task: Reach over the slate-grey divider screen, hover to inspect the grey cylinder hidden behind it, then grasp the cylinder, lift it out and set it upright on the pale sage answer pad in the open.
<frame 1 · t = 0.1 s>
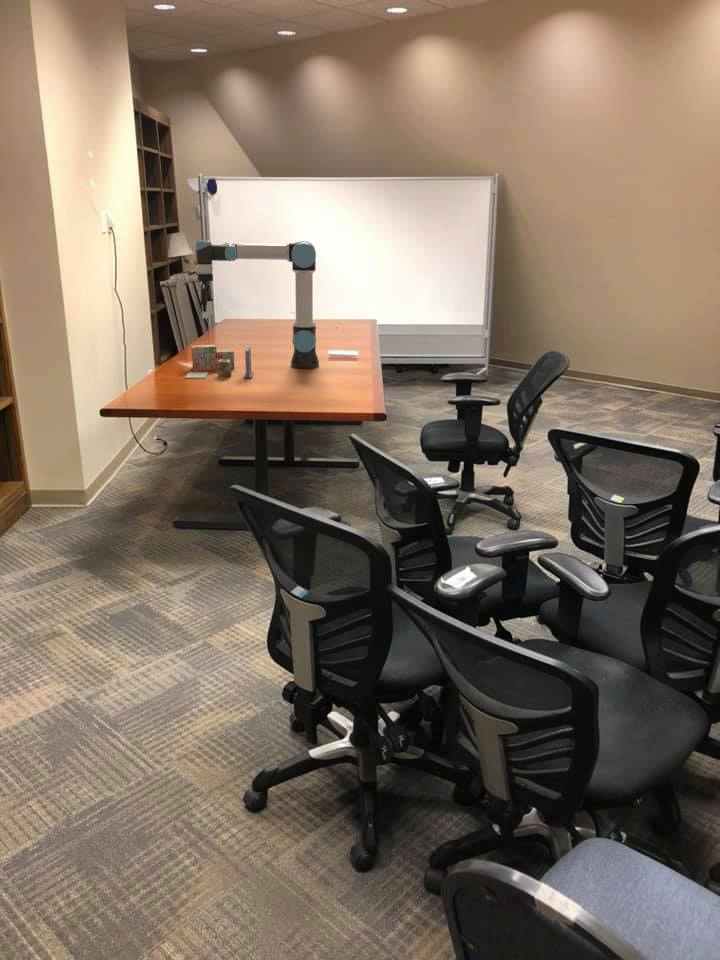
hand: (207, 316, 387), 28 cm above the table, fingers open, 13 cm apart
stack of blocks: (213, 369, 402), on the table
pad: (196, 375, 384), on the table
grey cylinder: (224, 376, 385), on the table
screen: (248, 376, 386), on the table
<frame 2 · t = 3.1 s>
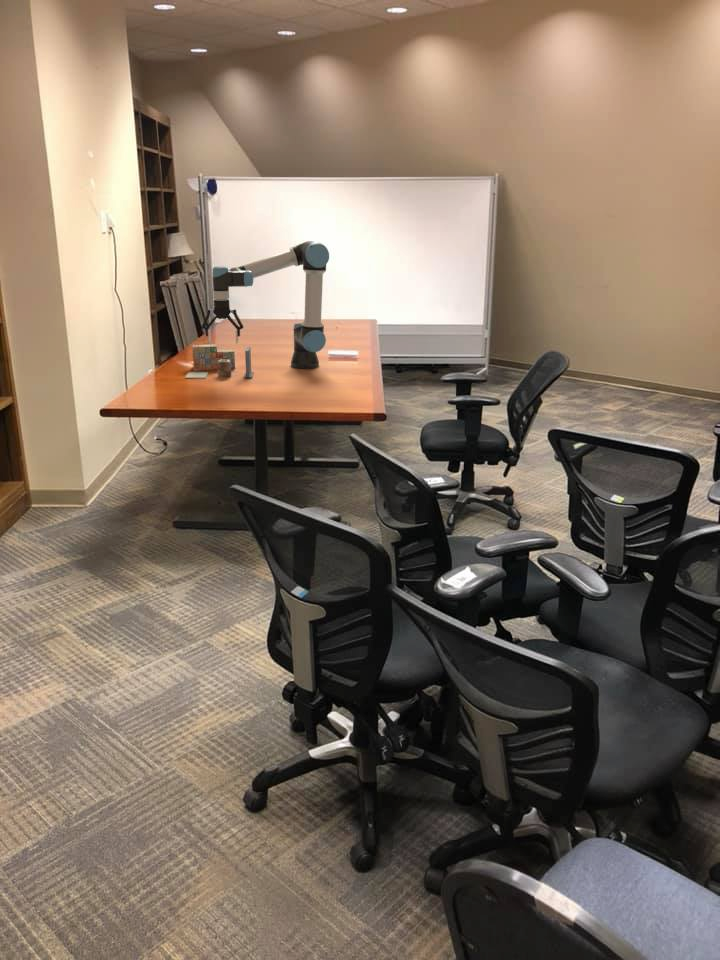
hand: (223, 343, 379), 17 cm above the table, fingers open, 13 cm apart
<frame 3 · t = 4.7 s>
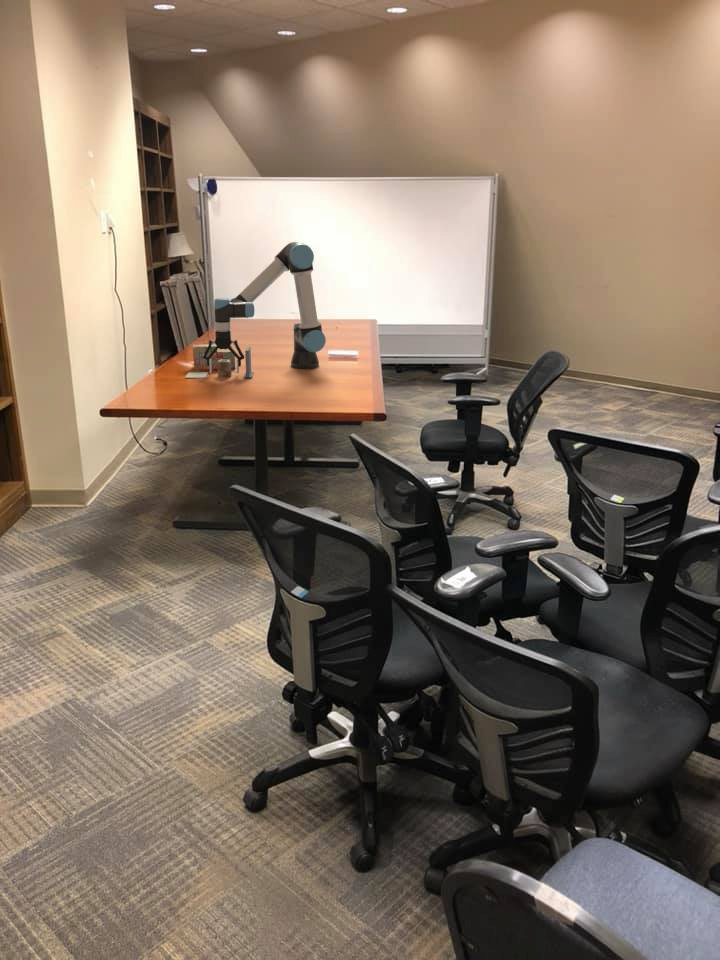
hand: (224, 372, 384), 2 cm above the table, fingers open, 13 cm apart
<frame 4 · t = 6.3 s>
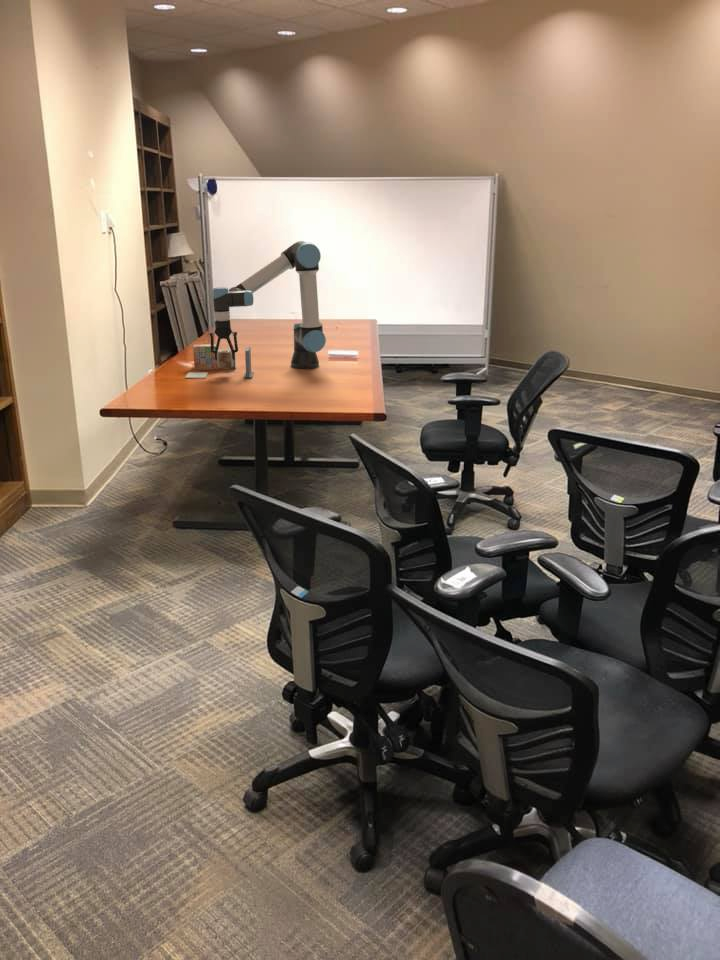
hand: (225, 366, 384), 5 cm above the table, fingers closed on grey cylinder, 6 cm apart
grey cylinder: (225, 366, 384), point 5 cm above the table, touching gripper
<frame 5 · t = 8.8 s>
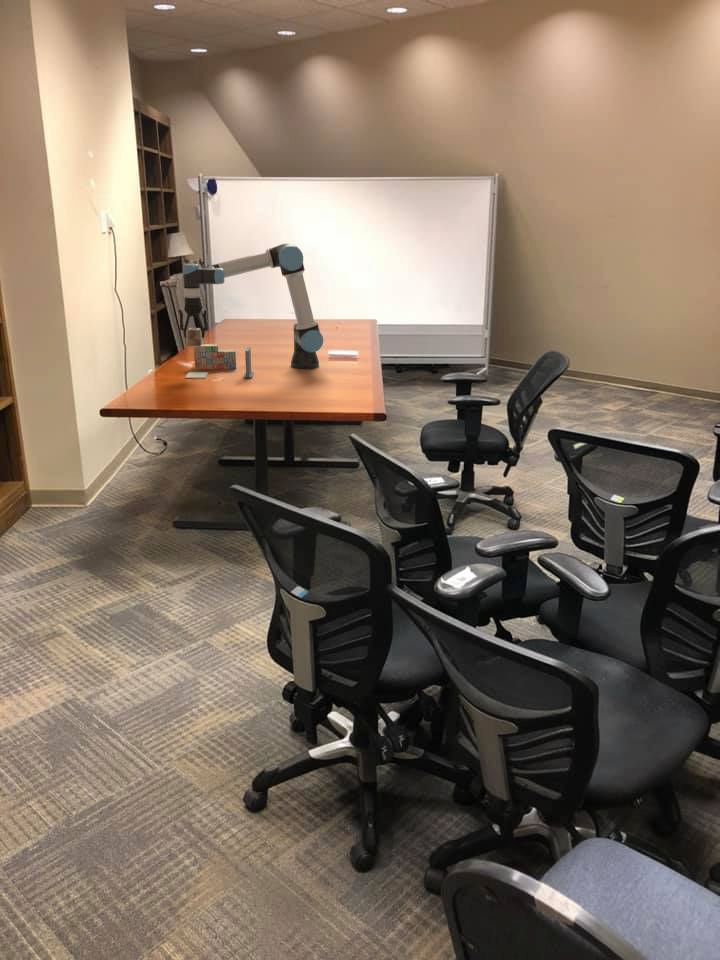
hand: (194, 344, 379), 16 cm above the table, fingers closed on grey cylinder, 6 cm apart
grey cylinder: (194, 345, 379), point 16 cm above the table, touching gripper
when the fingers open (1 cm above the table, at t = 11.6 s): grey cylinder stays where it is, resting on pad.
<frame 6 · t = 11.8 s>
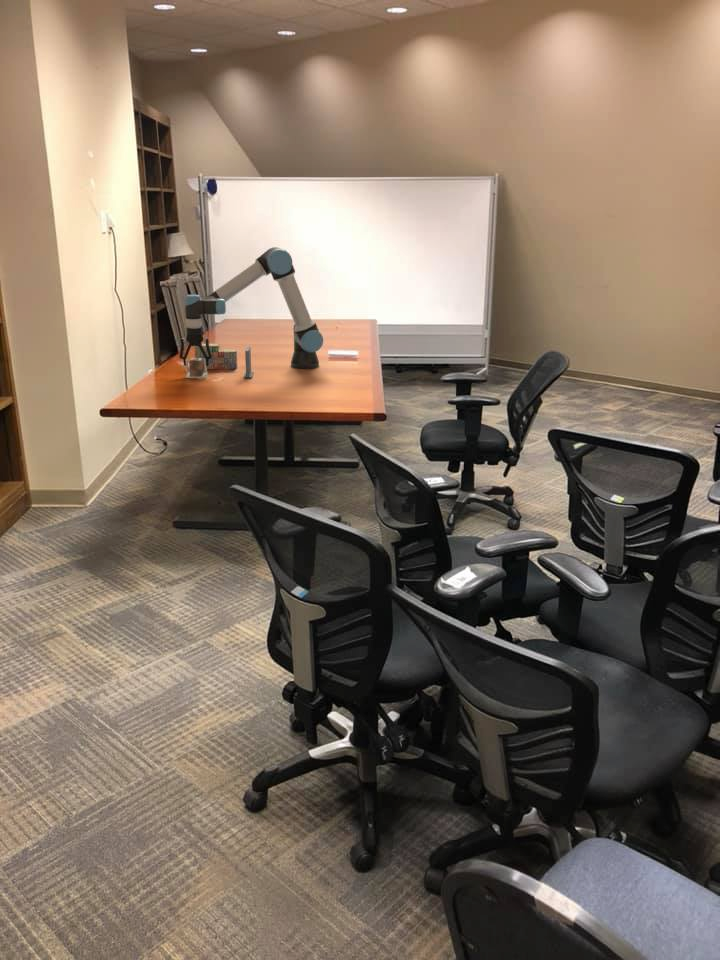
hand: (196, 372, 384), 2 cm above the table, fingers open, 8 cm apart
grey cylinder: (196, 374, 384), point 1 cm above the table, touching pad
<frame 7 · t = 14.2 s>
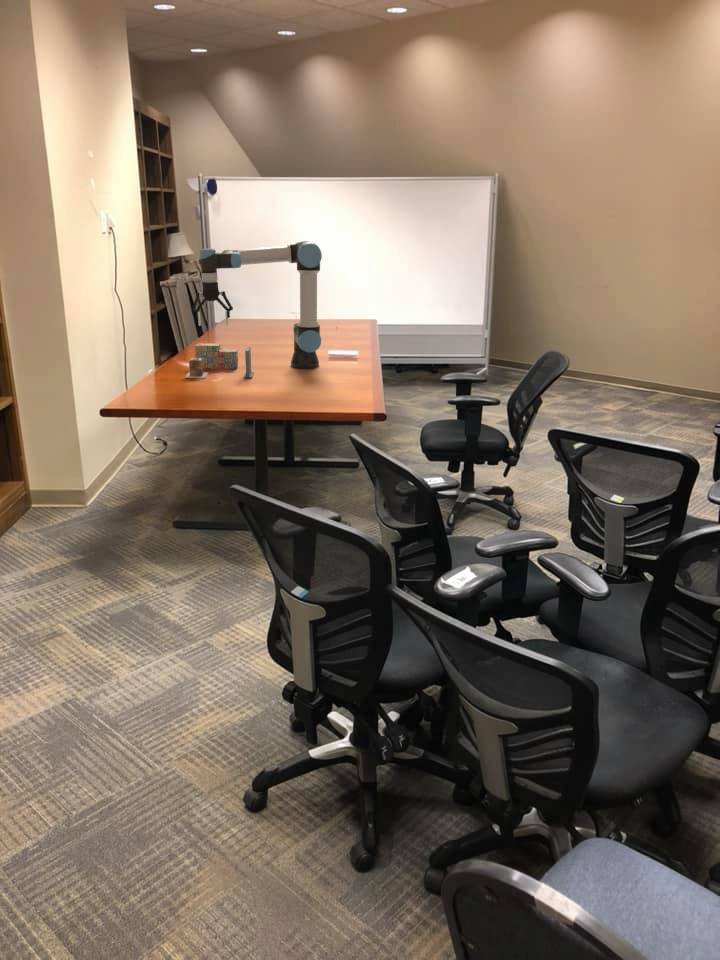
hand: (213, 325, 381), 25 cm above the table, fingers open, 13 cm apart
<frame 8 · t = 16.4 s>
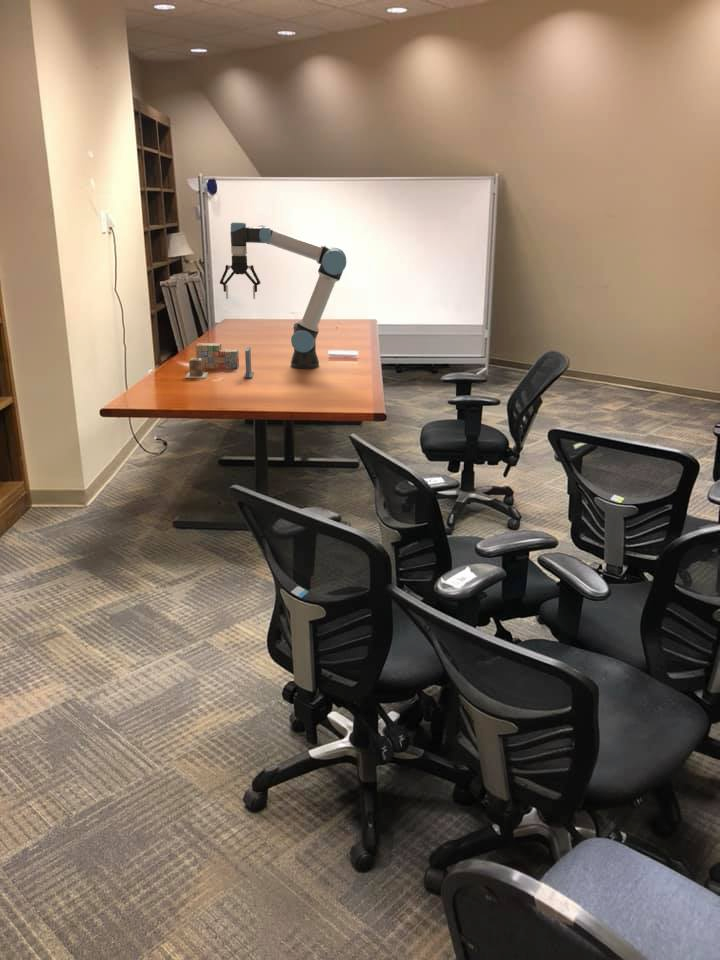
hand: (240, 298, 386), 37 cm above the table, fingers open, 13 cm apart
at the end: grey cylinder inside the target area on the pad (0.0 cm from its centre), point 0.6 cm above the pad's base; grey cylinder tilted 0°; the gripper is holding nothing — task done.
